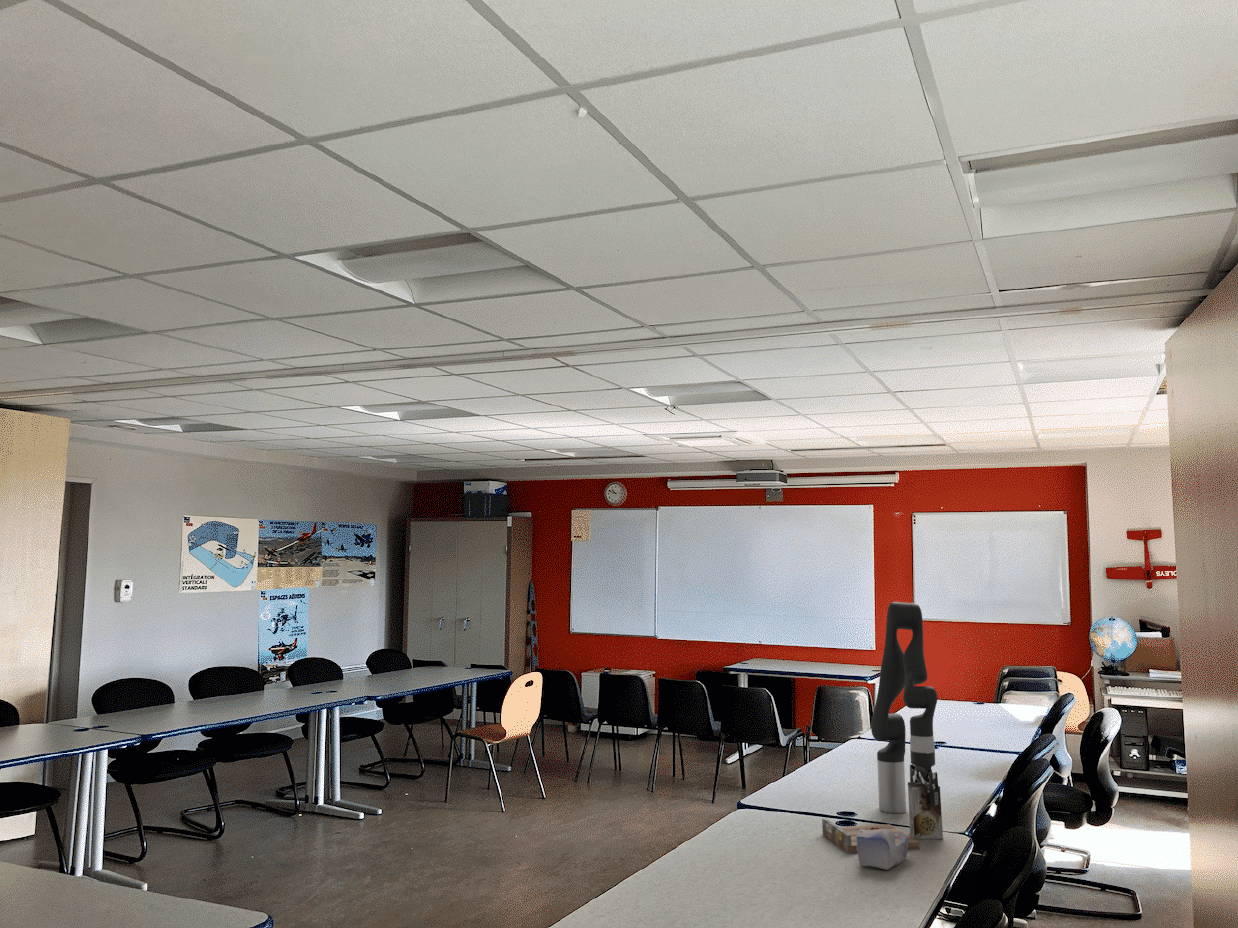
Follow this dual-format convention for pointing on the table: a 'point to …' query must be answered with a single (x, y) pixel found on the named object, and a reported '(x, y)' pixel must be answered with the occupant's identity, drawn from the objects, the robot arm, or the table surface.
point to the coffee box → (924, 813)
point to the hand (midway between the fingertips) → (924, 801)
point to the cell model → (881, 848)
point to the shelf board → (847, 835)
